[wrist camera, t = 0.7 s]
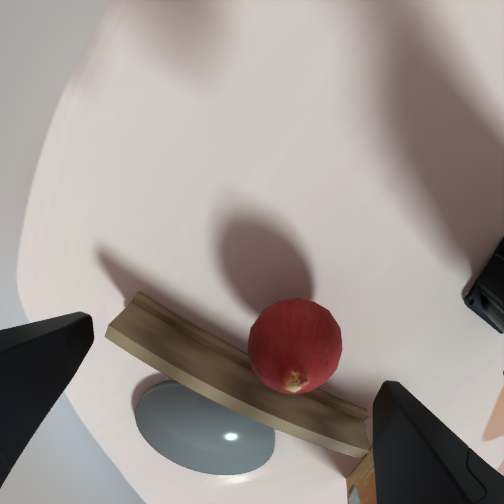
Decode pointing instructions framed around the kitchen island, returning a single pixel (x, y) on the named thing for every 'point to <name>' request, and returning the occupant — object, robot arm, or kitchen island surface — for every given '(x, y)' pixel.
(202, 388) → the walnut screen
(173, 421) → the slate plate
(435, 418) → the robot arm
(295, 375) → the onion
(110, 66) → the kitchen island surface
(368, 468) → the small box
